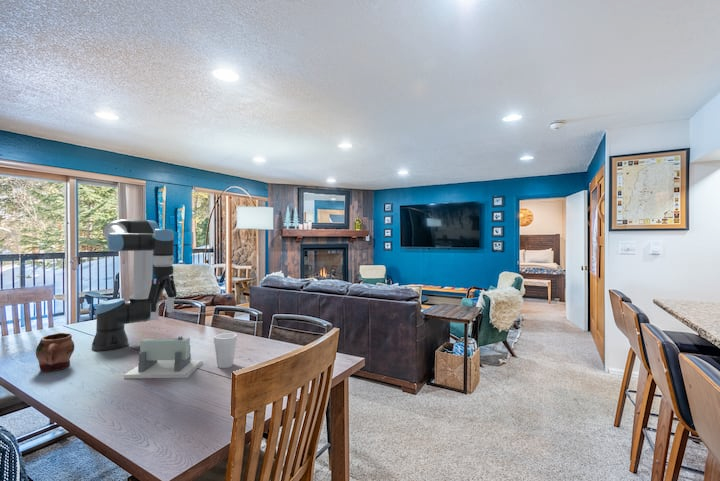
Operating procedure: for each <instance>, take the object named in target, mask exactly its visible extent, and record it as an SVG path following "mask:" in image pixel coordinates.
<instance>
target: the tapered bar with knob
mask: <svg viewBox="0 0 720 481" xmlns="http://www.w3.org/2000/svg"><path fill="white" fill-rule="evenodd" d="M190 339H191V338H190V337H183V336H178V337H164V338H163V337H161V338H158V337H157V338H156V337H154V338H153V337H152V338H147V337H146V338H143V339H142V340H140V342H139V346H140V347H139V348H140V349H139V353H140V352H146V361H148V360H175V352H182V360H186V359H187V358H188V357H189V354H191V344H190V341H191V340H190Z"/></svg>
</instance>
